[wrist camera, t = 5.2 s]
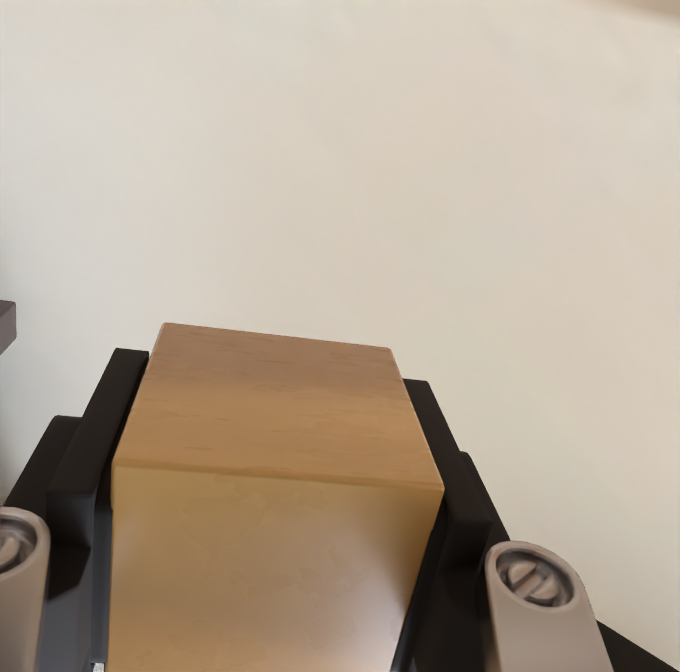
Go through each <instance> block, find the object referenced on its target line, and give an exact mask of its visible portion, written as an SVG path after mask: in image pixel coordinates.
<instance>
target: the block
mask: <svg viewBox="0 0 680 672" xmlns="http://www.w3.org/2000/svg"><path fill="white" fill-rule="evenodd" d="M444 489H445V488H444V484H443V481H442V479H441V476H440V474H439V471H438V469H437V466H436V464H435V461H434V458H433V456H432V453H431V451H430V448H429V446H428V443H427V441H426V438H425V436H424V433H423V430H422V428H421V425H420V423H419V420H418V418H417V415H416V413H415V410H414V408H413V405H412V402H411V400H410V397H409V395H408V392H407V390H406V387H405V385H404V382H403V380H402V377H401V374H400V372H399V369H398V367H397V364H396V362H395V359H394V357H393V354H392V352H391V349H389V348H385V347H376V346H368V345H359V344H350V343H341V342H333V341H324V340H315V339H307V338H298V337H289V336H280V335H272V334H263V333H254V332H245V331H237V330H228V329H219V328H210V327H202V326H193V325H184V324H176V323H163V324H162V326H161V329H160V331H159V334H158V337H157V340H156V342H155V345H154V348H153V351H152V353H151V356H150V359H149V361H148V364H147V367H146V370H145V372H144V375H143V378H142V381H141V383H140V386H139V389H138V392H137V394H136V397H135V400H134V402H133V405H132V408H131V411H130V413H129V416H128V419H127V422H126V424H125V427H124V430H123V433H122V435H121V438H120V441H119V443H118V446H117V449H116V452H115V454H114V457H113V460H112V464H111V492H110V501H111V509H112V510H113V515H112V541H111V567H110V593H109V619H108V646H107V662H105V663H104V672H391V671H390V670H391V667H392V663H393V660H394V657H395V653H396V650H397V646H398V643H399V639H400V636H401V633H402V629H403V626H404V622H405V619H406V615H407V612H408V609H409V605H410V602H411V598H412V595H413V591H414V588H415V585H416V581H417V578H418V574H419V571H420V567H421V564H422V560H423V557H424V554H425V550H426V547H427V543H428V540H429V536H430V533H431V531H432V530H433V527H434V524H435V520H436V517H437V513H438V510H439V507H440V503H441V500H442V496H443V493H444Z"/></svg>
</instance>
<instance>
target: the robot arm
mask: <svg viewBox="0 0 680 672" xmlns="http://www.w3.org/2000/svg"><path fill="white" fill-rule="evenodd" d="M148 361H149V351H141V350H131V349H122V348H116V349H115V350H114V352H113V354H112V356H111V358H110V361H109V363H108V365H107V367H106V369H105V371H104V373H103V375H102V377H101V379H100V381H99V383H98V385H97V387H96V389H95V391H94V393H93V395H92V398H91V400H90V402H89V404H88V406H87V408H86V410H85V412H84V414H83V416H82V417H71V416H60V415H57V416H54V418H53V419H52V420H51V422H50V424H49V425H48V427H47V429H46V431H45V432H44V434H43V436H42V438H41V440H40V441H39V443H38V445H37V447H36V448H35V450H34V452H33V454H32V456H31V457H30V459H29V461H28V463H27V464H26V466H25V468H24V470H23V472H22V473H21V475H20V477H19V479H18V480H17V482H16V484H15V486H14V488H13V489H12V491H11V493H10V495H9V496H8V498H7V500H6V502H5V504H4V505H3V507H0V672H93V668H94V665H95V663H105V662H107V646H108V619H109V593H110V567H111V541H112V515H113V510H112V509H111V501H110V492H111V464H112V460H113V457H114V454H115V452H116V449H117V446H118V443H119V441H120V438H121V435H122V433H123V430H124V427H125V424H126V422H127V419H128V416H129V413H130V411H131V408H132V405H133V402H134V400H135V397H136V394H137V392H138V389H139V386H140V383H141V381H142V378H143V375H144V372H145V370H146V367H147V364H148ZM402 380H403V382H404V385H405V387H406V390H407V392H408V395H409V397H410V400H411V402H412V405H413V408H414V410H415V413H416V415H417V418H418V420H419V423H420V425H421V428H422V430H423V433H424V436H425V438H426V441H427V443H428V446H429V448H430V451H431V453H432V456H433V458H434V461H435V464H436V466H437V469H438V471H439V474H440V476H441V479H442V481H443V484H444V488H445V489H444V493H443V496H442V500H441V503H440V507H439V510H438V513H437V517H436V520H435V524H434V527H433V530H432V531H431V533H430V536H429V540H428V543H427V547H426V550H425V554H424V557H423V560H422V564H421V567H420V571H419V574H418V578H417V581H416V585H415V588H414V591H413V595H412V598H411V602H410V605H409V609H408V612H407V615H406V619H405V622H404V626H403V629H402V633H401V636H400V639H399V643H398V646H397V650H396V653H395V657H394V660H393V663H392V667H391V670H390V671H391V672H679V671H678V670H676V669H674V668H673V667H671V666H670V665H668V664H666V663H665V662H663V661H662V660H660V659H658V658H657V657H655V656H654V655H652V654H650V653H649V652H647V651H646V650H644V649H642V648H641V647H639V646H638V645H636V644H634V643H633V642H631V641H630V640H628V639H626V638H625V637H623V636H622V635H620V634H618V633H617V632H615V631H614V630H612V629H610V628H609V627H607V626H606V625H604V624H602V623H601V622H599V621H598V620H596V619H595V616H594V613H593V610H592V607H591V604H590V602H589V599H588V596H587V593H586V590H585V587H584V585H583V583H582V581H581V579H580V577H579V575H578V574H577V573H576V572H575V571H574V569H573V568H572V567H571V566H570V565H569V564H568V563H567V562H566V561H564V560H563V559H562V558H560V557H559V556H558V555H556V554H555V553H553V552H551V551H549V550H547V549H545V548H543V547H541V546H538V545H535V544H531V543H528V542H523V541H511V540H510V538H509V536H508V534H507V532H506V530H505V528H504V526H503V523H502V521H501V519H500V517H499V515H498V513H497V511H496V509H495V507H494V505H493V503H492V501H491V499H490V496H489V494H488V492H487V490H486V488H485V486H484V484H483V482H482V480H481V478H480V476H479V474H478V471H477V469H476V467H475V465H474V463H473V461H472V459H471V457H470V456H469V454H468V453H466V452H463V451H460V450H459V448H458V446H457V444H456V442H455V440H454V437H453V435H452V433H451V431H450V429H449V427H448V424H447V422H446V420H445V418H444V416H443V414H442V411H441V409H440V407H439V405H438V403H437V401H436V398H435V396H434V394H433V392H432V390H431V388H430V385H429V383H428V382H427V381H421V380H412V379H403V378H402Z"/></svg>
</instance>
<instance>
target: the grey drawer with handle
mask: <svg viewBox="0 0 680 672" xmlns="http://www.w3.org/2000/svg"><path fill="white" fill-rule="evenodd" d="M15 339H16V303H15V302H11V301H3V300H0V355H1V354H2V353H3V352H4V351H5V350H6V349H7V347H8V346H9V345H10V344H11V343H12V342H13V341H14V340H15Z"/></svg>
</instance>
